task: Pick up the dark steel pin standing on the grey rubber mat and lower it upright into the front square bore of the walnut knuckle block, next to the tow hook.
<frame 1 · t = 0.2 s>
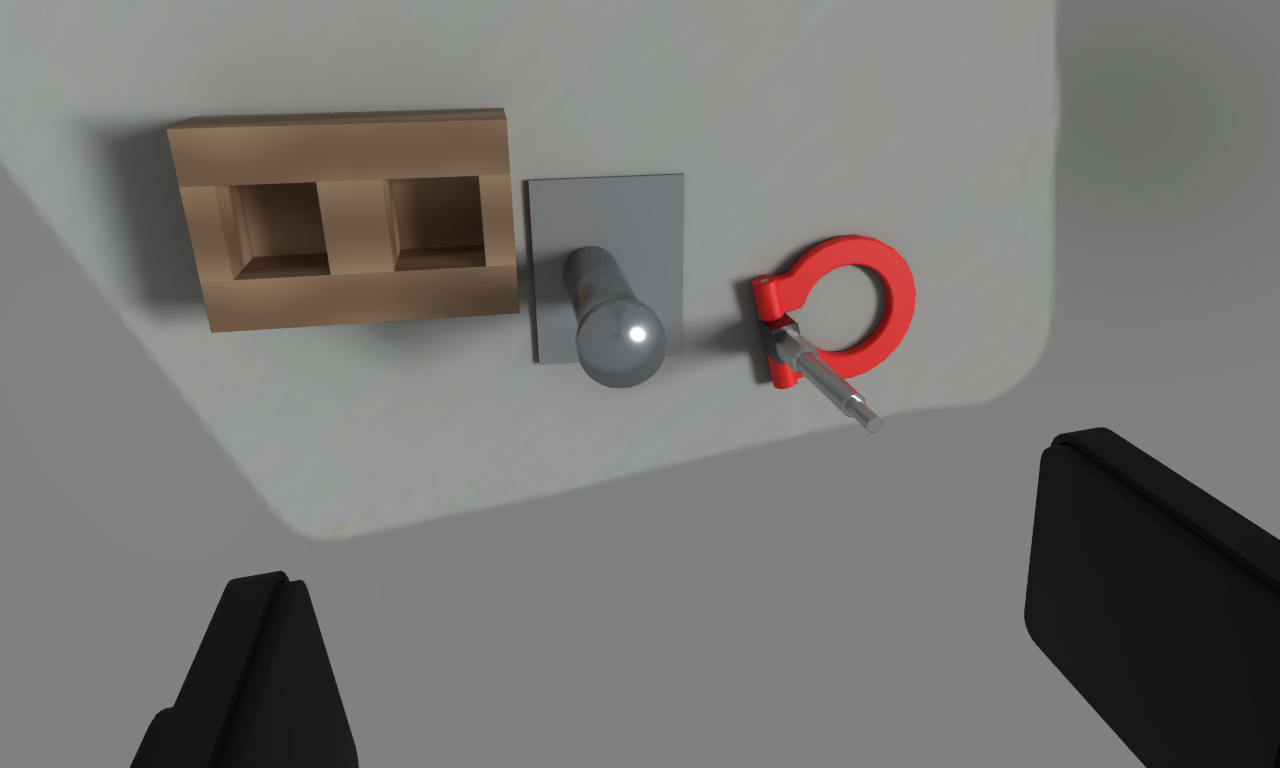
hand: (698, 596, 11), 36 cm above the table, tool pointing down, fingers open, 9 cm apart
pin: (590, 273, 46), resting on mat
block: (367, 206, 43), on the table
mat: (608, 271, 46), on the table
tow hook: (832, 306, 50), on the table
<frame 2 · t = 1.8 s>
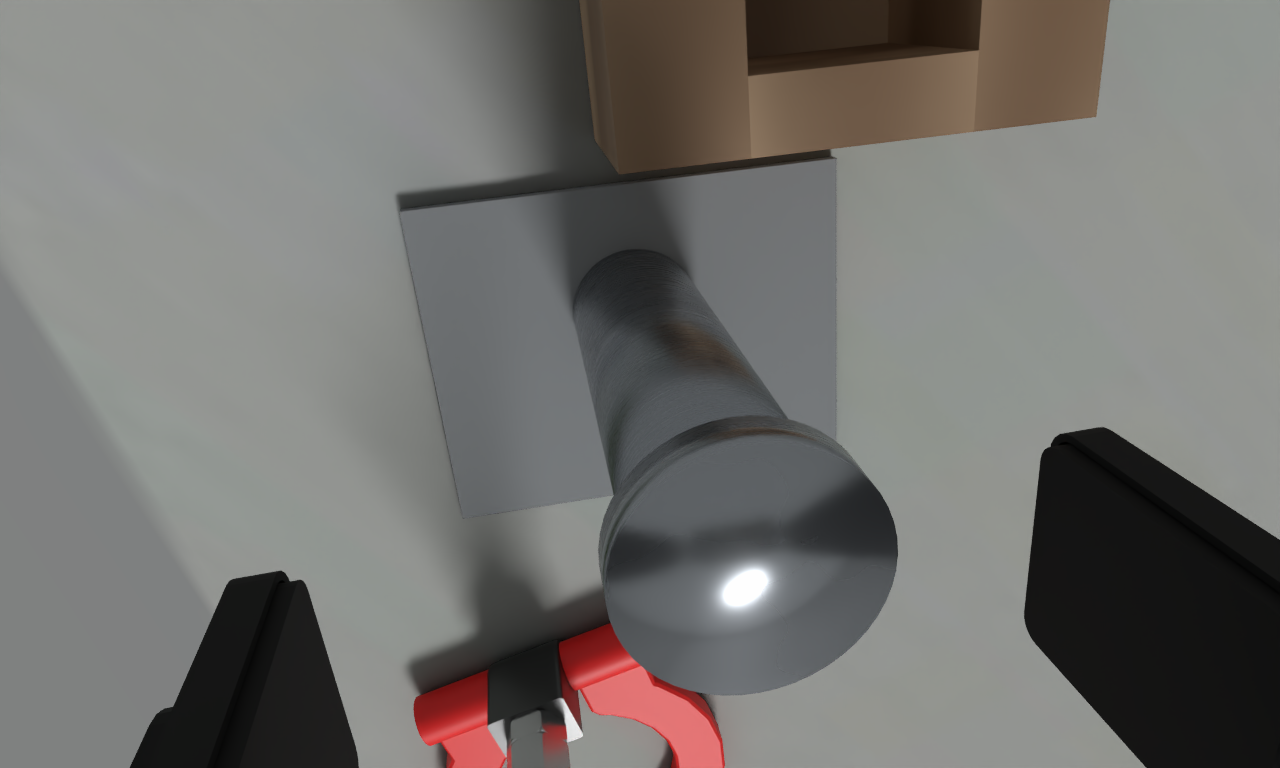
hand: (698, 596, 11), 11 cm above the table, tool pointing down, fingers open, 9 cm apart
pin: (635, 309, 21), resting on mat
mat: (637, 344, 21), on the table
tow hook: (580, 743, 27), on the table
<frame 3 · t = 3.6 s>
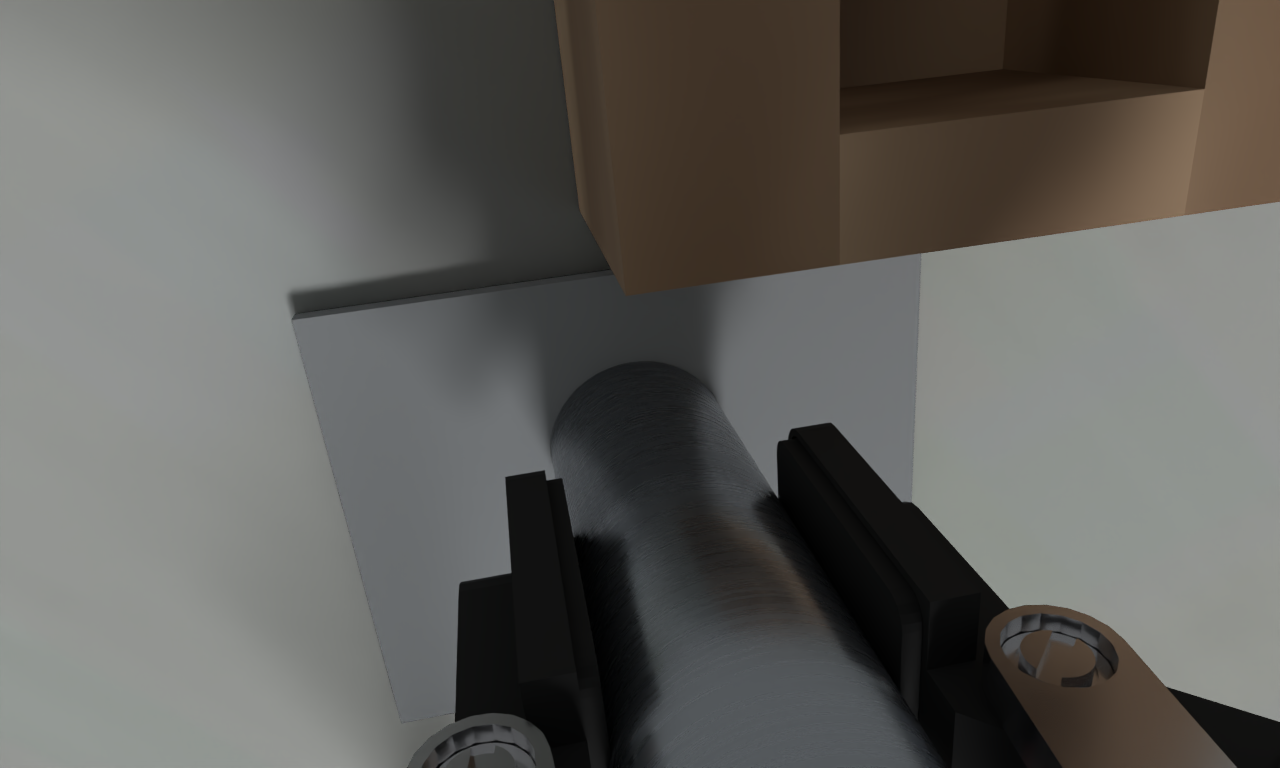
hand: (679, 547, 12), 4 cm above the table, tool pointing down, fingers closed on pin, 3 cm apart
pin: (639, 443, 15), resting on mat, touching gripper
mat: (641, 485, 15), on the table
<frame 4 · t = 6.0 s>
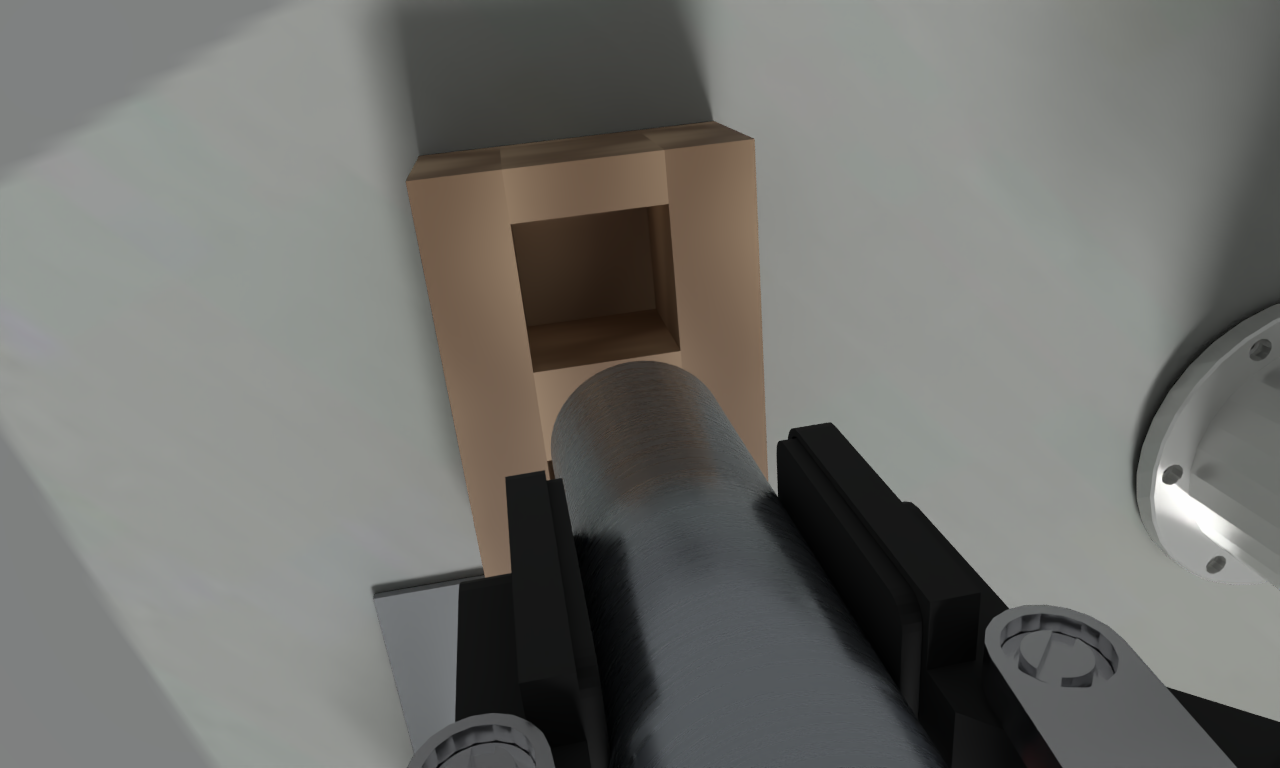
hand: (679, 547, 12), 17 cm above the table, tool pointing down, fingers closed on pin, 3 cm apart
pin: (639, 442, 15), point 14 cm above the table, touching gripper
block: (595, 352, 29), on the table
mat: (528, 655, 33), on the table
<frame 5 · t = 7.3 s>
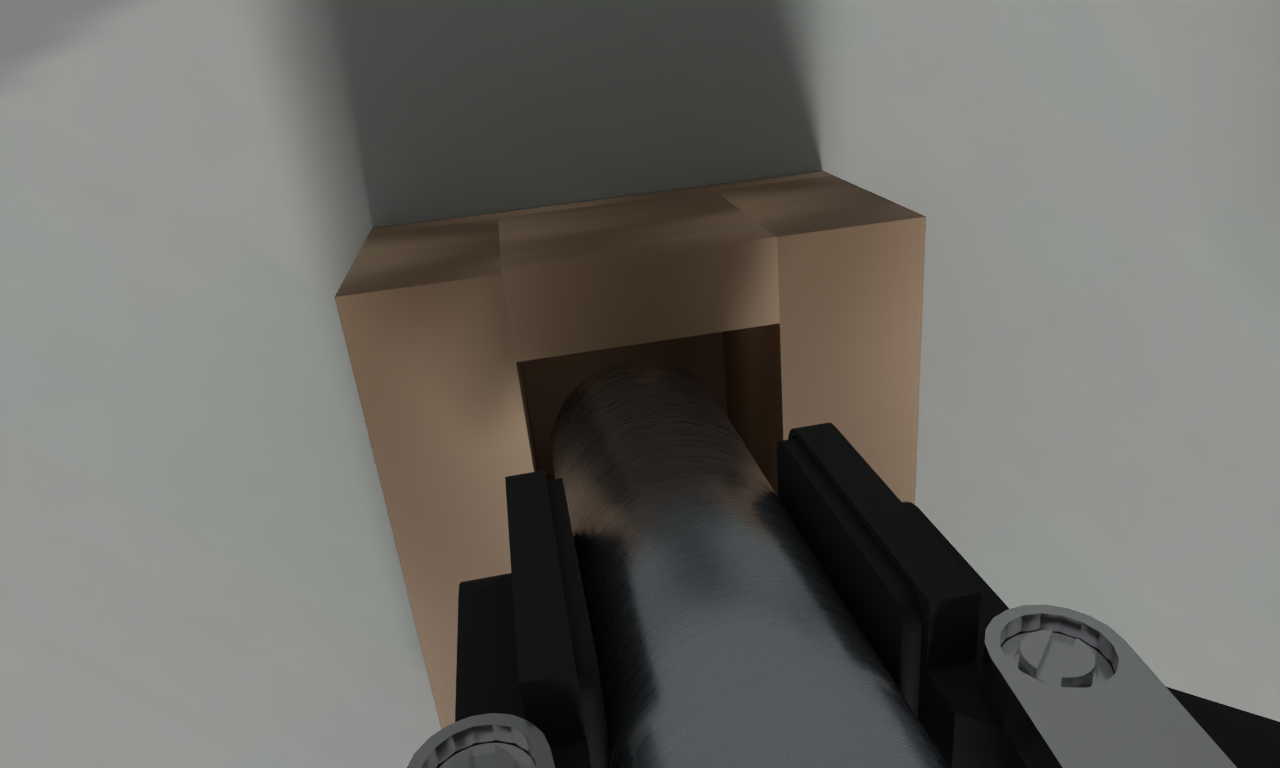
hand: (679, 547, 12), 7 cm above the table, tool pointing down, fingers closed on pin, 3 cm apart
pin: (638, 442, 15), point 4 cm above the table, touching gripper
block: (638, 503, 20), on the table
when the fingers open (5 cm above the table, at t = 8.3 s): pin drops 1 cm, resting on block.
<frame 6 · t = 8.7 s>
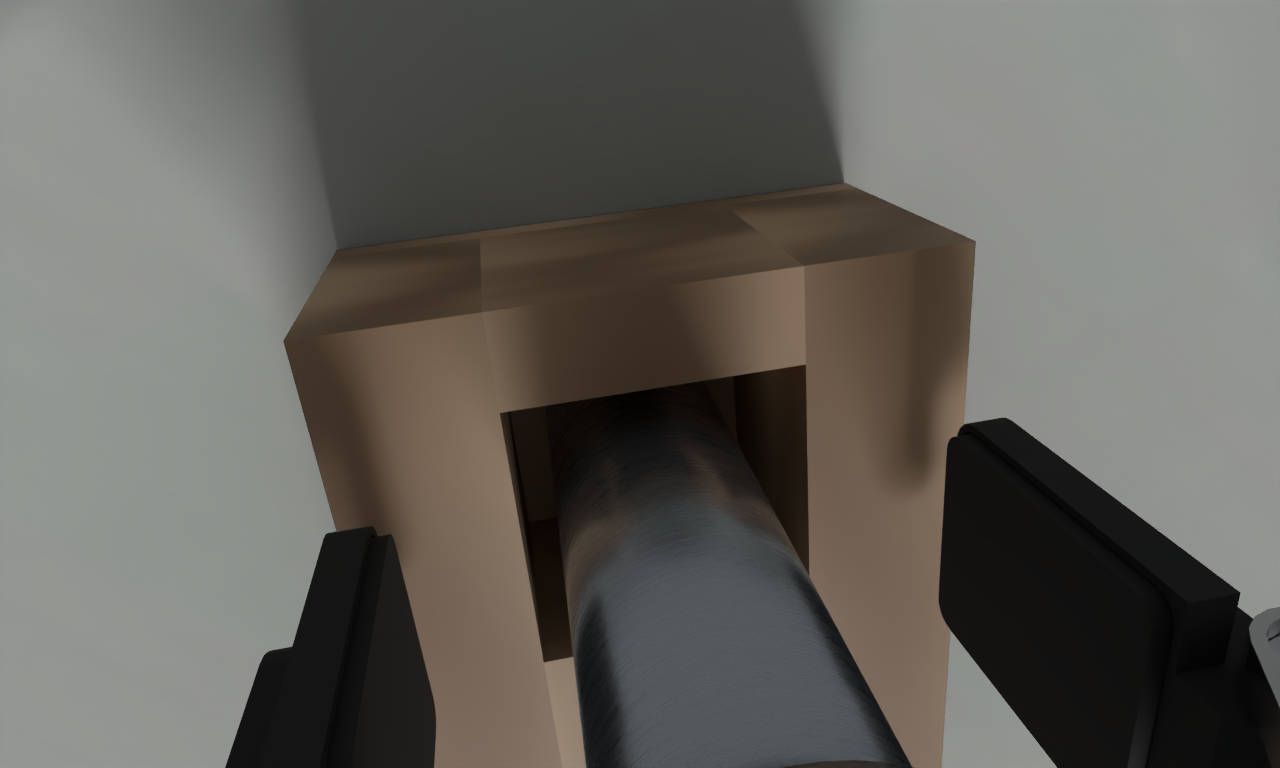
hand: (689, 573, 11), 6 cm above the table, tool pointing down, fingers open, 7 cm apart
pin: (626, 408, 16), point 1 cm above the table, touching block
block: (637, 548, 18), on the table
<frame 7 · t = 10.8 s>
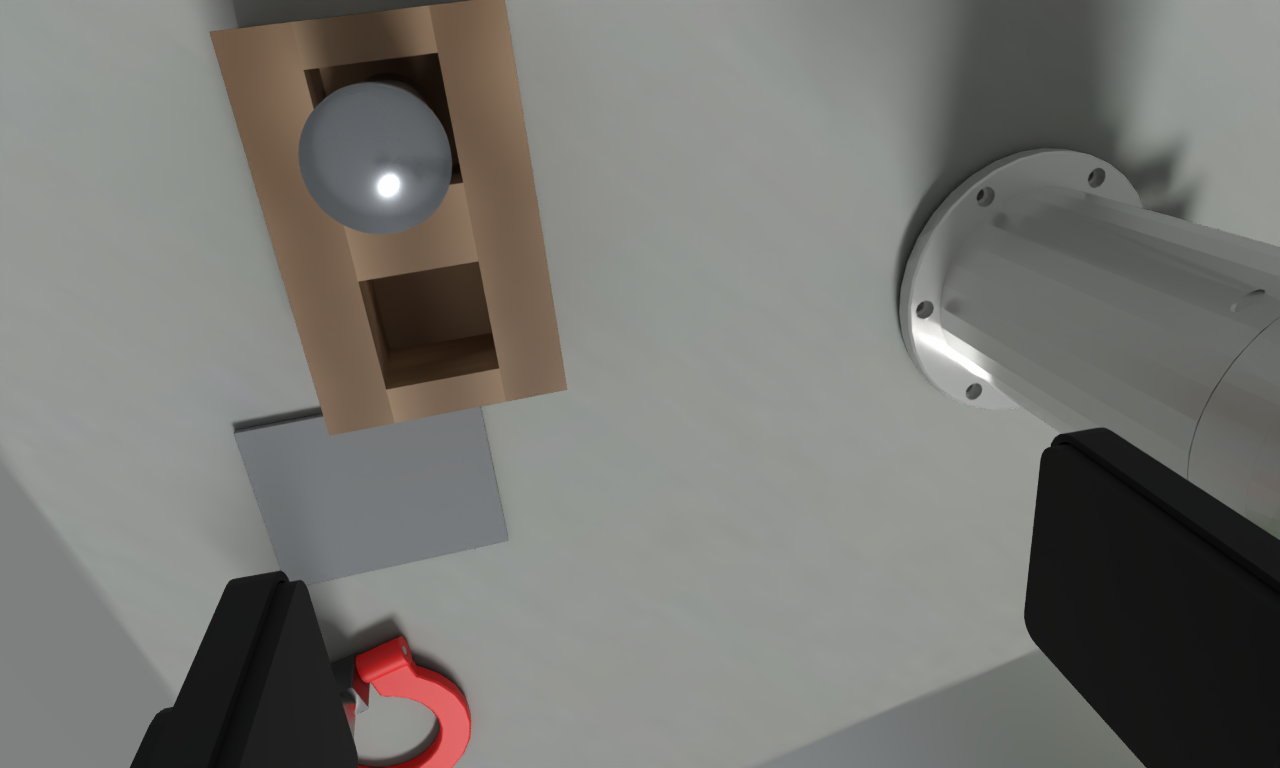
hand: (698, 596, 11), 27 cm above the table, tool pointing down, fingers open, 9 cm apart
pin: (391, 115, 32), point 1 cm above the table, touching block
block: (412, 205, 34), on the table
mat: (380, 487, 38), on the table
tow hook: (381, 715, 44), on the table
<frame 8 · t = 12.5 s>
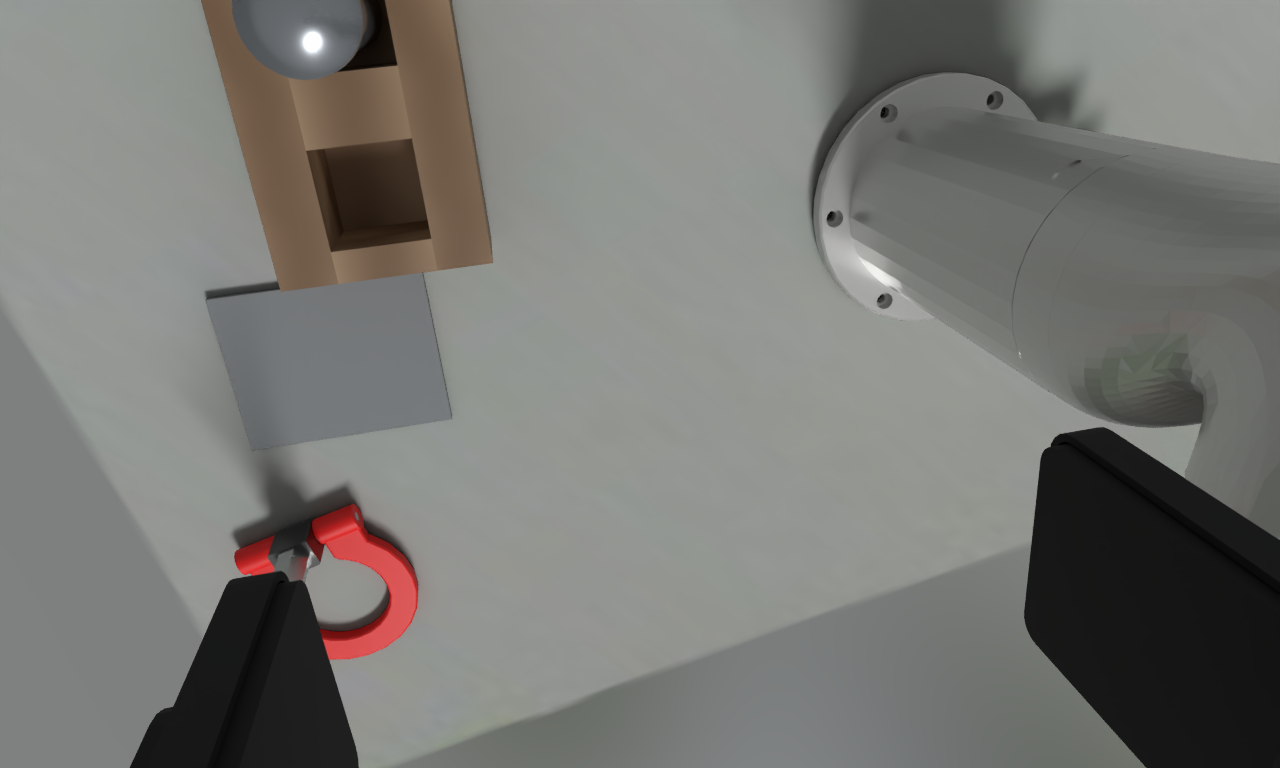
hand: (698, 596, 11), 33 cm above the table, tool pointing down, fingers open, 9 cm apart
pin: (345, 14, 37), point 1 cm above the table, touching block
block: (364, 98, 39), on the table
mat: (335, 360, 43), on the table
tow hook: (337, 581, 48), on the table
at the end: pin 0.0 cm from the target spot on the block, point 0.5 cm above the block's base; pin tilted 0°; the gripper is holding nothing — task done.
